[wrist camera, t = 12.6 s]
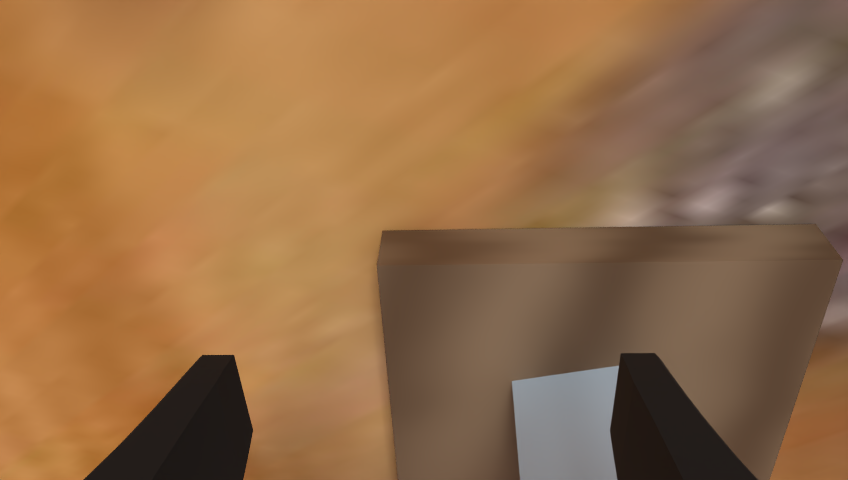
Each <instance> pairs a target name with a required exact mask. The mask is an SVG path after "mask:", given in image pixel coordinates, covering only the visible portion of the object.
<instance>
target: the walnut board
mask: <svg viewBox="0 0 848 480" xmlns="http://www.w3.org/2000/svg"><path fill="white" fill-rule="evenodd" d="M842 262H843V259H842V258H841V257H840V255H839V254H838V253H837V251H836V250H835V249H834V247H833V246H832V245H831V244H830V242H829V241H828V240H827V238H826V237H825V236H824V235H823V233H822V232H821V231H820V229H819V228H818V227H817V225H816V224H798V225H732V226H665V227H599V228H533V229H467V230H401V231H383V232H382V238H381V244H380V250H379V256H378V262H377V272H378V282H379V292H380V303H381V313H382V323H383V333H384V343H385V353H386V363H387V373H388V384H389V394H390V404H391V414H392V424H393V434H394V444H395V454H396V465H397V475H398V480H520V473H519V461H518V449H517V437H516V425H515V413H514V401H513V389H512V381H516V380H522V379H529V378H536V377H543V376H550V375H557V374H564V373H571V372H578V371H585V370H592V369H599V368H606V367H613V366H619V362H620V355H621V353H655V354H656V355H657V356H658V357H659V358H660V359H661V360H662V362H663V363H664V365H665V366H666V367H667V369H668V370H669V372H670V373H671V374H672V376H673V377H674V378H675V380H676V381H677V383H678V384H679V385H680V387H681V388H682V389H683V391H684V392H685V393H686V395H687V396H688V397H689V399H690V400H691V401H692V402H693V404H694V405H695V406H696V408H697V409H698V410H699V412H700V413H701V414H702V415H703V417H704V418H705V419H706V420H707V422H708V423H709V424H710V425H711V426H712V428H713V429H714V430H715V431H716V432H717V434H718V435H719V436H720V437H721V438H722V440H723V441H724V442H725V443H726V444H727V446H728V447H729V448H730V449H731V450H732V451H733V453H734V454H735V455H736V456H737V457H738V458H739V459H740V460H741V462H742V463H743V464H744V465H745V466H746V467H747V468H748V469H749V470H750V471H751V473H752V474H753V475H754V476H755V477H756V478H757V479H758V480H770V477H771V474H772V471H773V468H774V465H775V462H776V459H777V456H778V453H779V450H780V447H781V444H782V441H783V438H784V435H785V432H786V429H787V426H788V423H789V420H790V417H791V414H792V411H793V408H794V405H795V402H796V399H797V396H798V393H799V390H800V387H801V384H802V381H803V378H804V375H805V372H806V369H807V366H808V363H809V360H810V357H811V354H812V351H813V348H814V345H815V342H816V339H817V336H818V333H819V330H820V327H821V324H822V321H823V318H824V315H825V312H826V309H827V306H828V303H829V300H830V297H831V294H832V291H833V288H834V286H835V283H836V280H837V277H838V274H839V271H840V268H841V265H842Z"/></svg>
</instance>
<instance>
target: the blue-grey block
mask: <svg viewBox="0 0 848 480" xmlns="http://www.w3.org/2000/svg"><path fill="white" fill-rule="evenodd" d="M618 369H619V366H613V367H606V368H599V369H592V370H585V371H578V372H571V373H564V374H557V375H550V376H543V377H536V378H529V379H522V380H516V381H512V389H513V401H514V413H515V425H516V437H517V449H518V461H519V473H520V480H617V475H616V468H615V462H614V456H613V449H612V442H611V435H610V426H611V419H612V412H613V405H614V398H615V391H616V383H617V376H618Z"/></svg>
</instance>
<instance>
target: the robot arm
mask: <svg viewBox="0 0 848 480" xmlns="http://www.w3.org/2000/svg"><path fill="white" fill-rule="evenodd" d="M252 433H253V428H252V424H251V420H250V417H249V413H248V409H247V405H246V401H245V397H244V393H243V389H242V385H241V381H240V377H239V373H238V369H237V365H236V361H235V357H234V355H202V356H201V357H200V358H199V359H198V360H197V361H196V362H195V363H194V365H193V366H192V367H191V368H190V369H189V370H188V371H187V372H186V373H185V374H184V376H183V377H182V378H181V379H180V380H179V381H178V382H177V383H176V385H175V386H174V387H173V388H172V389H171V390H170V391H169V392H168V393H167V395H166V396H165V397H164V398H163V399H162V400H161V401H160V402H159V403H158V404H157V406H156V407H155V408H154V409H153V410H152V411H151V412H150V413H149V414H148V415H147V416H146V417H145V418H144V420H143V421H142V422H141V423H140V424H139V425H138V426H137V427H136V428H135V429H134V430H133V431H132V432H131V433H130V434H129V435H128V436H127V438H126V439H125V440H124V441H123V442H122V443H121V444H120V445H119V446H118V447H117V448H116V449H115V450H114V451H113V452H112V453H111V454H110V455H109V456H108V457H106V458H105V459H104V460H103V461H102V462H101V463H100V464H99V465H98V466H97V467H96V468H95V469H94V470H93V471H92V472H91V473H90V474H89V475H88V476H87V477H86V478H85V479H84V480H243V478H244V473H245V468H246V464H247V459H248V454H249V449H250V443H251V438H252ZM610 435H611V442H612V449H613V456H614V462H615V468H616V475H617V480H758V479H757V478H756V477H755V476H754V475H753V474H752V473H751V471H750V470H749V469H748V468H747V467H746V466H745V465H744V464H743V463H742V462H741V460H740V459H739V458H738V457H737V456H736V455H735V454H734V453H733V451H732V450H731V449H730V448H729V447H728V446H727V444H726V443H725V442H724V441H723V440H722V438H721V437H720V436H719V435H718V434H717V432H716V431H715V430H714V429H713V428H712V426H711V425H710V424H709V423H708V422H707V420H706V419H705V418H704V417H703V415H702V414H701V413H700V412H699V410H698V409H697V408H696V406H695V405H694V404H693V402H692V401H691V400H690V399H689V397H688V396H687V395H686V393H685V392H684V391H683V389H682V388H681V387H680V385H679V384H678V383H677V381H676V380H675V378H674V377H673V376H672V374H671V373H670V372H669V370H668V369H667V367H666V366H665V365H664V363H663V362H662V360H661V359H660V358H659V357H658V356H657V355H656V354H655V353H621V355H620V362H619V369H618V376H617V383H616V391H615V398H614V405H613V412H612V419H611V426H610Z"/></svg>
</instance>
